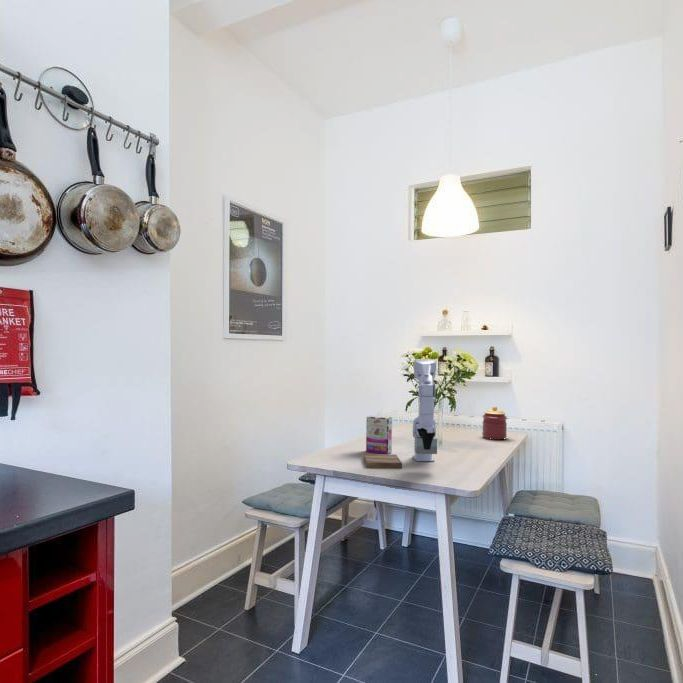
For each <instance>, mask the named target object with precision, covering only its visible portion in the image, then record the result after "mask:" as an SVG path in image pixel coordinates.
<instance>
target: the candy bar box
mask: <svg viewBox="0 0 683 683" xmlns="http://www.w3.org/2000/svg"><path fill="white" fill-rule="evenodd" d="M365 433H366V436H365V438H366V439H365V440H366V441H365V444H366V445H365V452H368V453H372V454H391V453H392V451H393V450H392V445H393V442H392V441H393V440H392V439H393V437H392V436H393V434H392V433H393V417H391V416H377V415H369V416H368V415H367V416H366V432H365Z"/></svg>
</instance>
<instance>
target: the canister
mask: <svg viewBox="0 0 683 683" xmlns="http://www.w3.org/2000/svg"><path fill="white" fill-rule="evenodd" d="M482 419H483V420H482V434H481V435H482V438H483V437H485V438H484V439H486V438H491V439H504V438H506V439H507V437H508V436H507V435H508V434H507V426H508V424H507V419H508V417H507V416H506V412H504V411H503V410H501V409H498V407H497V406H492V407H491V409H486V410H485V411H484V414H483V415H482ZM491 439H490V440H491Z"/></svg>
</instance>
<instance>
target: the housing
mask: <svg viewBox="0 0 683 683" xmlns="http://www.w3.org/2000/svg"><path fill="white" fill-rule="evenodd" d="M415 452H416V453H417V454H432V455H437V454H438V438H437V437H433V440H432V444H431V448H430V450H425V449H424V444H423V438H422V436H415V438H414V453H415Z"/></svg>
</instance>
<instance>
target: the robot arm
mask: <svg viewBox="0 0 683 683" xmlns="http://www.w3.org/2000/svg"><path fill="white" fill-rule="evenodd" d="M436 373H437V360H436V359H435V358H434V359H430V358H429V359H428V358H425V359H423V358H422V359H421V358H420V359H419V358H414V360H413V376H414V379H416V380H417V381H418V384H419V385H418V391H417V392H418V402H419V405H418V410H419V411H418V416H417V417H416V418H414V419H413V420H412V421H413V422H412V437H413V438H414V439H415V436H422V438H423V444H424V449H425V450H430V448H431V444H432V440H433V437H436V435H437V433H436V432H437V426H436V421H435V419H434V417H435V416H434V415H435V414H434V413H435V412H434V410H435V398H436V385H435V383H434V380H435V379H436ZM436 438H437V437H436ZM412 458H413V459H414V461H416V462H435V459H434V458H433V454H417V453H416V452H415V451H414V455H412Z"/></svg>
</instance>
